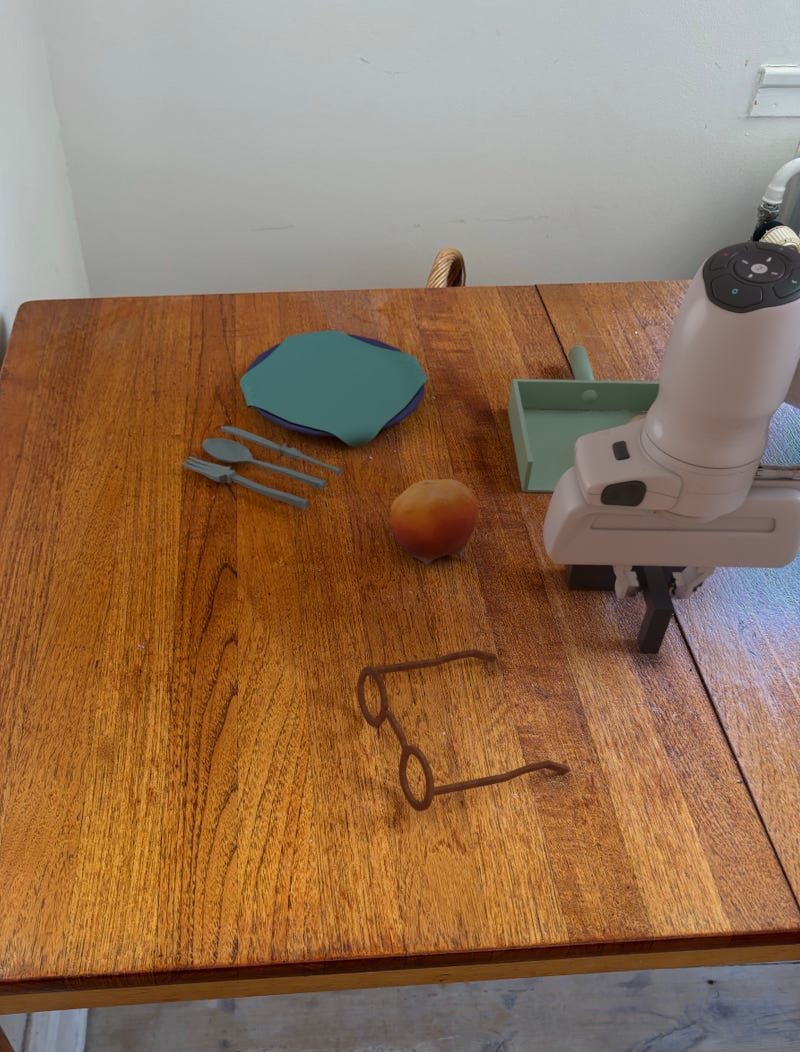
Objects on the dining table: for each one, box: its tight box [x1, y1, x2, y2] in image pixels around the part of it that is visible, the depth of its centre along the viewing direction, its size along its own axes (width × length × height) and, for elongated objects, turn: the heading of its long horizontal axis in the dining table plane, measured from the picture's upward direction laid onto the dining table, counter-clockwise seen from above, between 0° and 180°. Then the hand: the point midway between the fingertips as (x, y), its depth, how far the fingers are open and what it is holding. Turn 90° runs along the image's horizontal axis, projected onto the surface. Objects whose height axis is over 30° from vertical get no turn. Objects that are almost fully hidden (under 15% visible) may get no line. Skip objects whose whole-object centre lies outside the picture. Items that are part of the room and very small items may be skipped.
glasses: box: [356, 648, 571, 812], centre depth 81 cm, size 13×13×5 cm
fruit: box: [390, 478, 480, 567], centre depth 97 cm, size 8×8×8 cm
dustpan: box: [507, 344, 659, 494], centre depth 111 cm, size 24×17×4 cm
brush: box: [563, 564, 704, 654], centre depth 91 cm, size 10×12×5 cm
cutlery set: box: [181, 329, 430, 511], centre depth 112 cm, size 20×30×2 cm, turn 149°
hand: (651, 594), depth 90 cm, fingers open, 3 cm apart
